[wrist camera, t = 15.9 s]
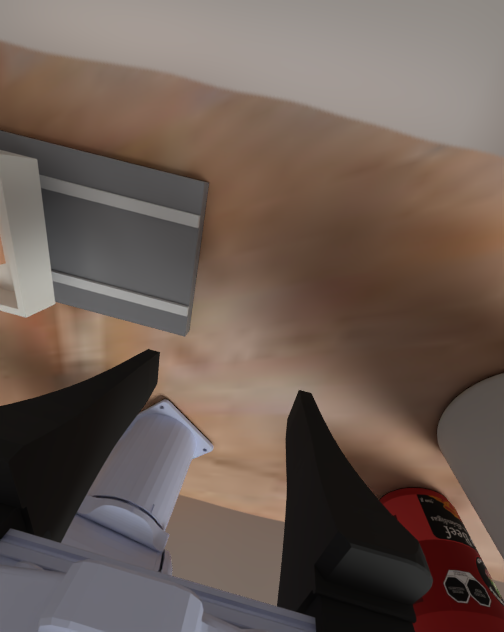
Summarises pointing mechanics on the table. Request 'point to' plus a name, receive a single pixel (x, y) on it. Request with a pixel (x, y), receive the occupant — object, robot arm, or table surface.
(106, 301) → the track
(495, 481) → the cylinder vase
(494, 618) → the canned food
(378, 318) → the table surface
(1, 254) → the block
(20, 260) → the white shallow tray
